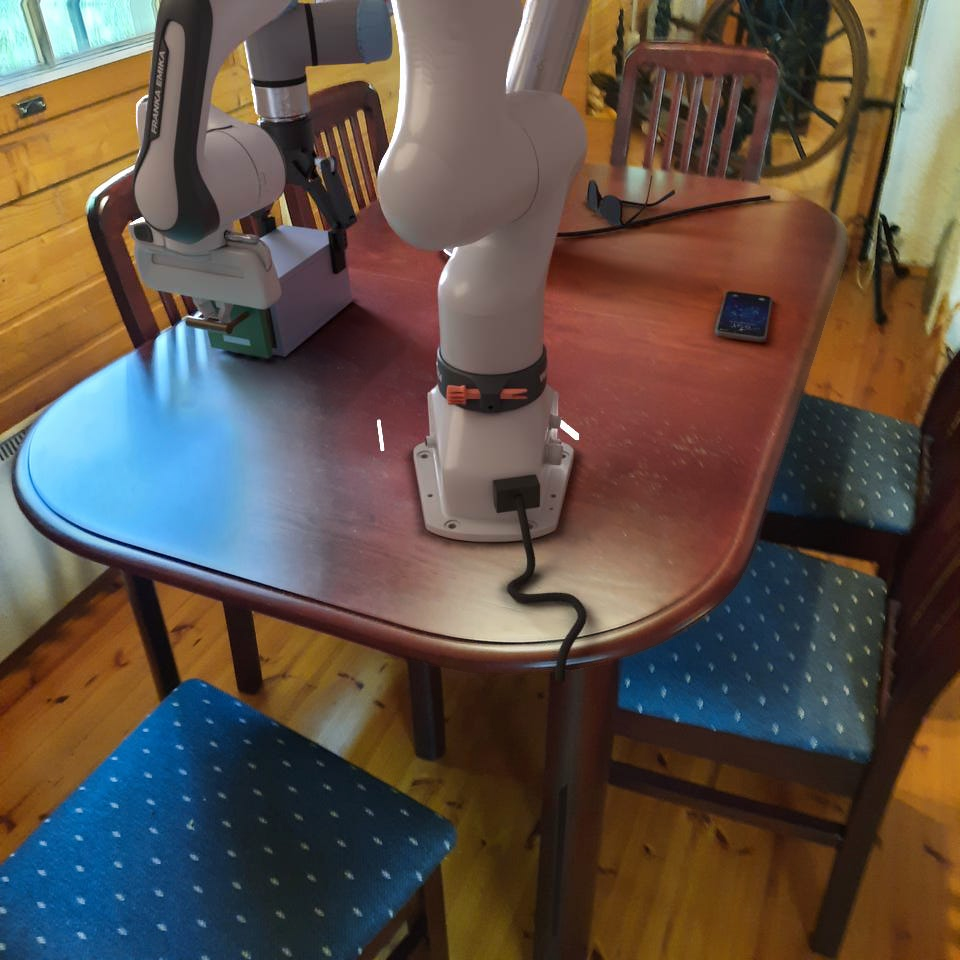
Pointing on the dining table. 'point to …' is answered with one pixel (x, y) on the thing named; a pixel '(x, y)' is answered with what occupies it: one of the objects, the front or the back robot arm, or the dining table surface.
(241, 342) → the drawer
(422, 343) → the dining table surface
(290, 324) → the cabinet
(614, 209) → the sunglasses
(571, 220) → the dining table surface
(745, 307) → the smartphone
